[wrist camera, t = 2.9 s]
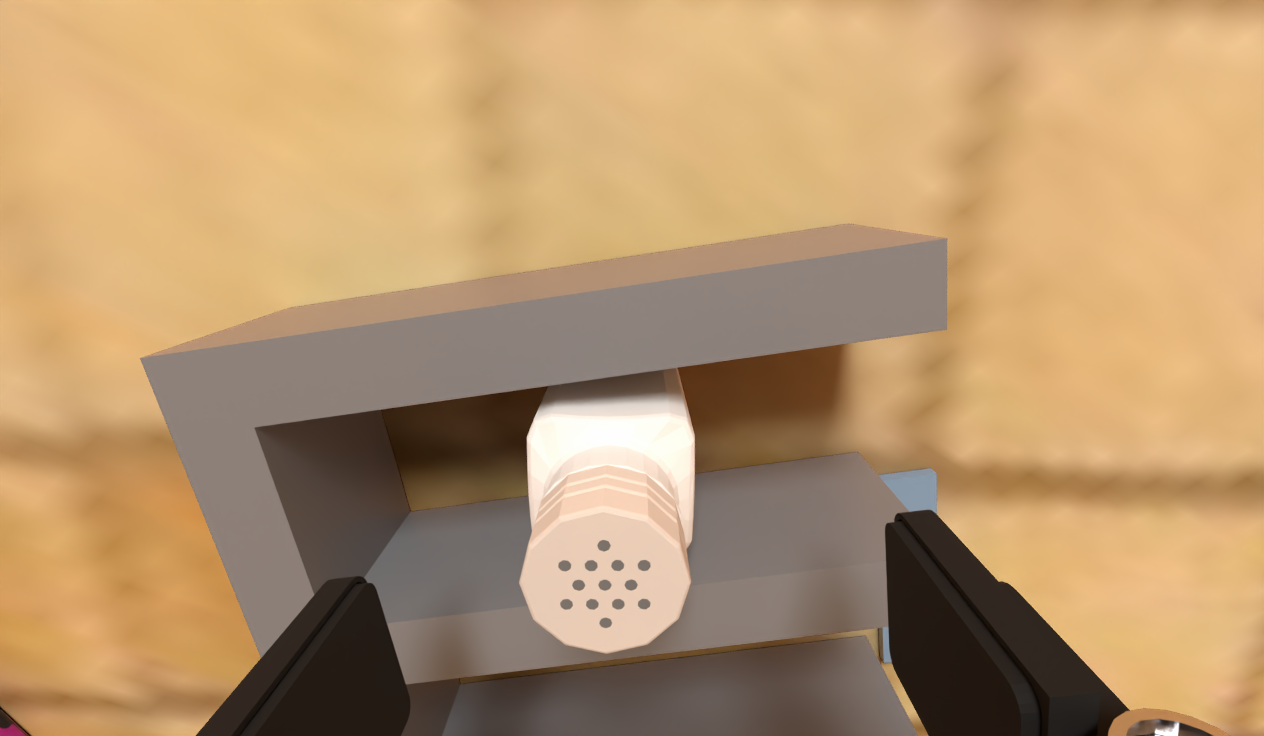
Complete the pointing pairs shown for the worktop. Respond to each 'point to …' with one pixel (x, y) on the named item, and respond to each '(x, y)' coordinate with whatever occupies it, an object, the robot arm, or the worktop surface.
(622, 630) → the pepper shaker
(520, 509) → the shelf rack
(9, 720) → the candy bar box
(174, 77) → the worktop surface
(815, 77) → the worktop surface
